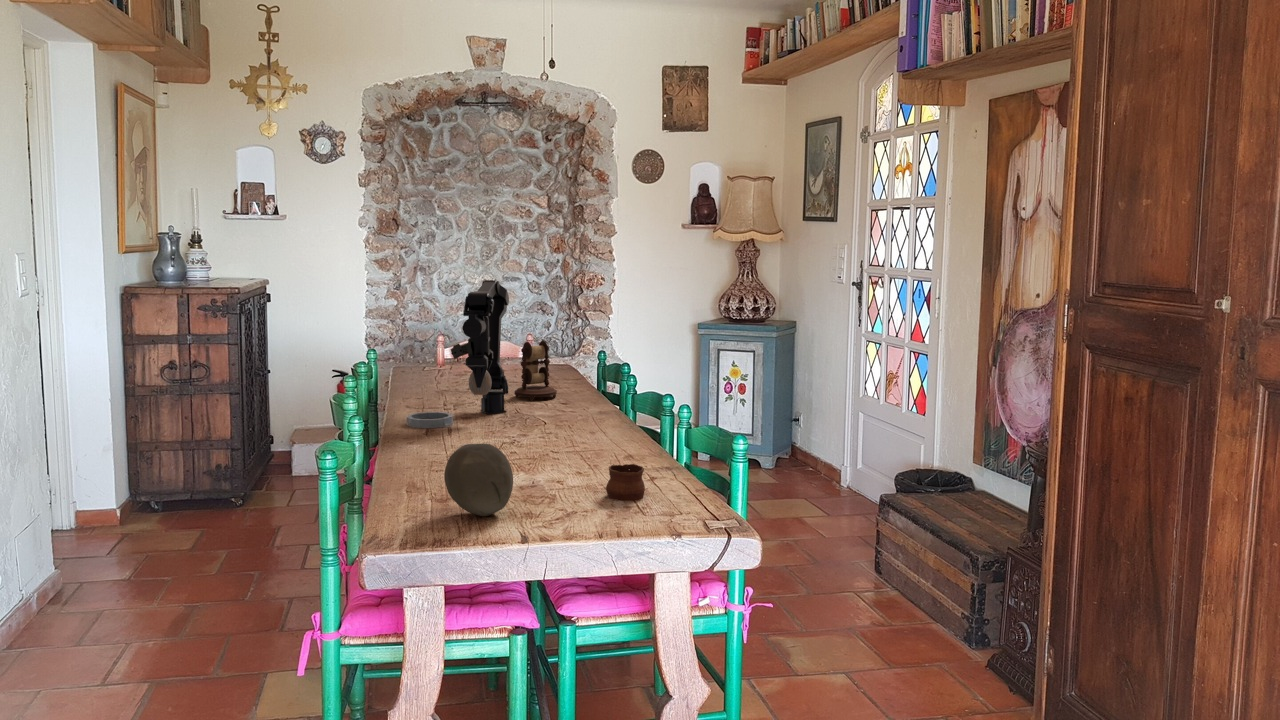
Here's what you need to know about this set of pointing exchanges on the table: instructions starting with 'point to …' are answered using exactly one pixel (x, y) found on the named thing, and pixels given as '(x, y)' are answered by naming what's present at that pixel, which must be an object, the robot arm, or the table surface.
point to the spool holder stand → (535, 372)
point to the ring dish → (430, 420)
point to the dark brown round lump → (479, 478)
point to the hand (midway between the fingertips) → (480, 385)
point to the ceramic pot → (625, 482)
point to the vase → (484, 387)
